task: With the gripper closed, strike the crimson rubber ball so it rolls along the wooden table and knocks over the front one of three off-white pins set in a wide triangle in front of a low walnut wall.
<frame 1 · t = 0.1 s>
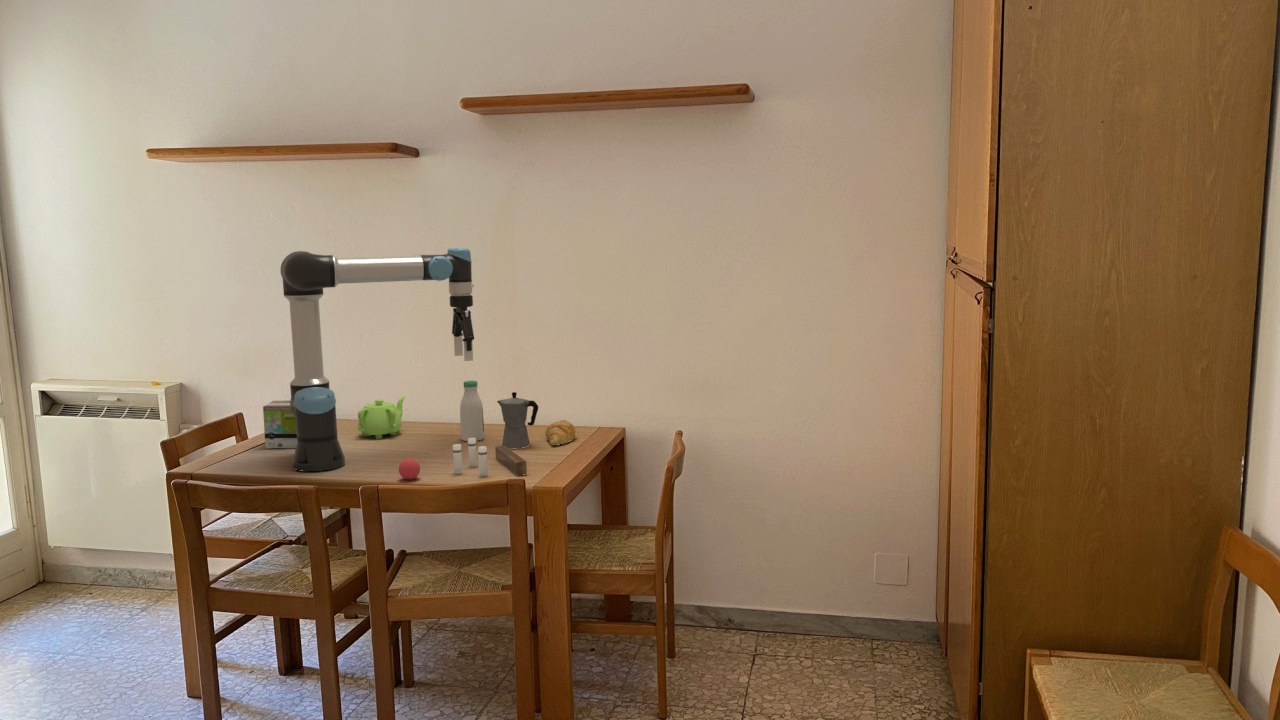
hand: (463, 358, 312), 28 cm above the table, tool pointing down, fingers open, 13 cm apart
milk bottle: (472, 440, 317), on the table
tea box: (293, 446, 312), on the table
ball: (409, 469, 267), on the table
coffeepot: (518, 446, 306), on the table
pin 1: (472, 466, 281), on the table
front pin: (458, 473, 273), on the table
croissant: (560, 441, 314), on the table
teapot: (383, 435, 326), on the table
pin 2: (483, 475, 270), on the table
back wall: (510, 466, 280), on the table
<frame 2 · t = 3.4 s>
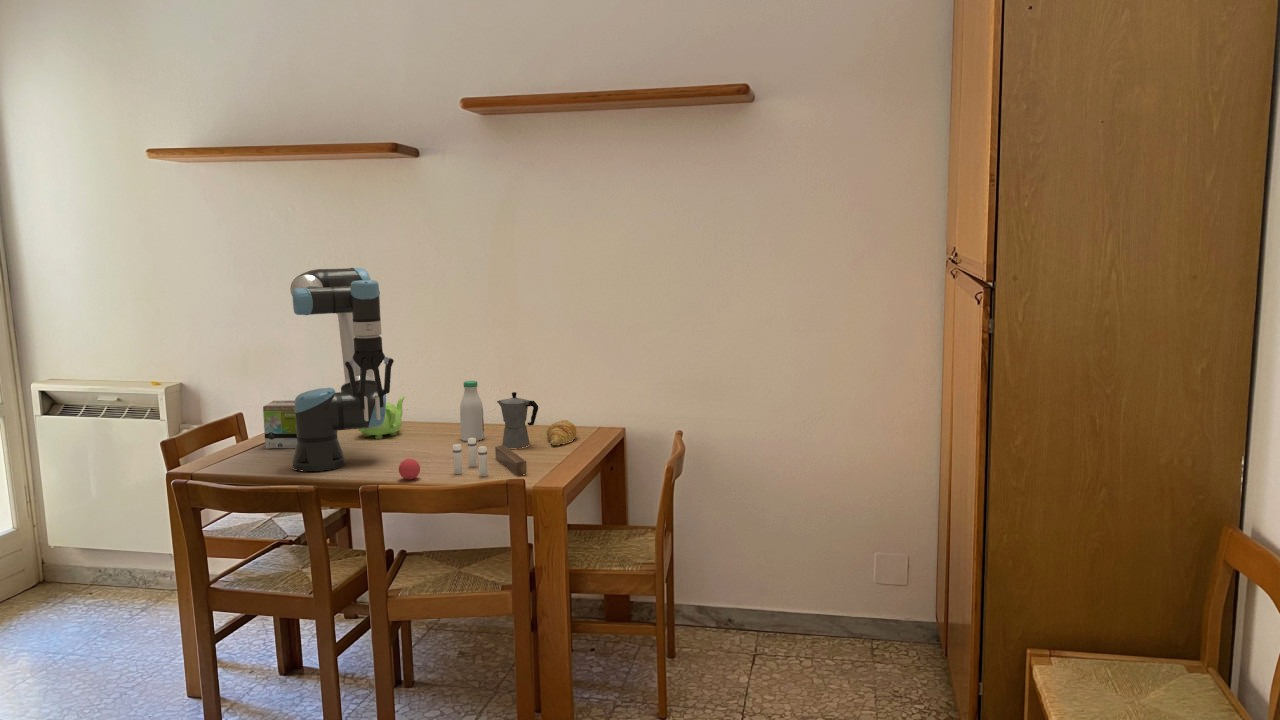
hand: (372, 419, 261), 19 cm above the table, tool pointing down, fingers open, 3 cm apart
nothing on the table moved.
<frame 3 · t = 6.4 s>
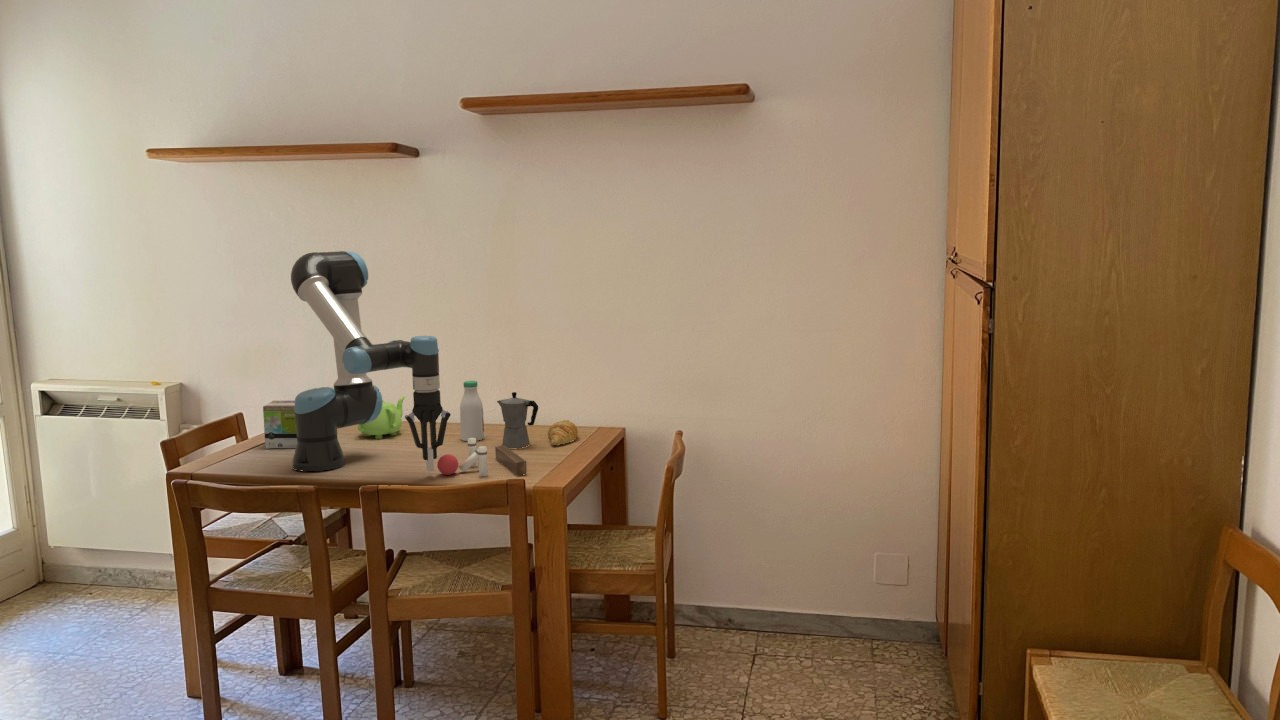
hand: (430, 470, 270), 2 cm above the table, tool pointing down, fingers closed
ball: (447, 464, 272), on the table
front pin: (461, 469, 274), point 1 cm above the table, tilted 53°
everything else where it was.
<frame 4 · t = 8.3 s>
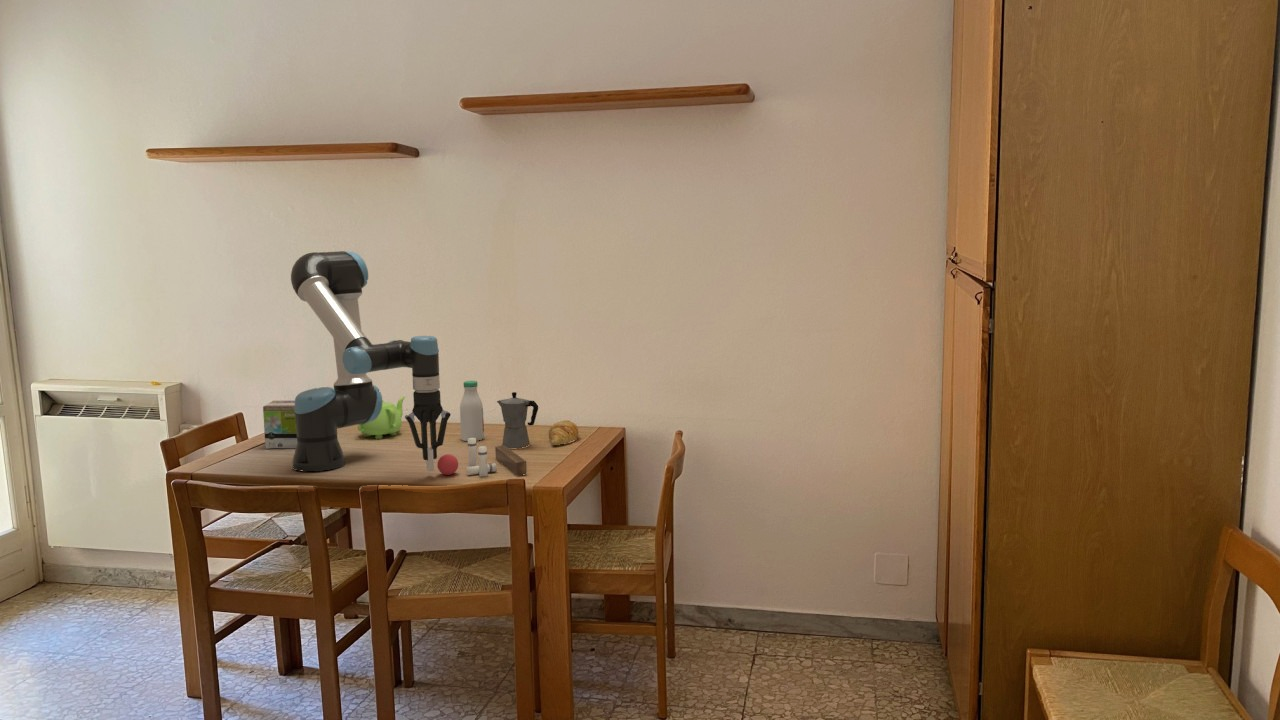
hand: (430, 470, 270), 2 cm above the table, tool pointing down, fingers closed
front pin: (467, 471, 271), point 1 cm above the table, tilted 89°
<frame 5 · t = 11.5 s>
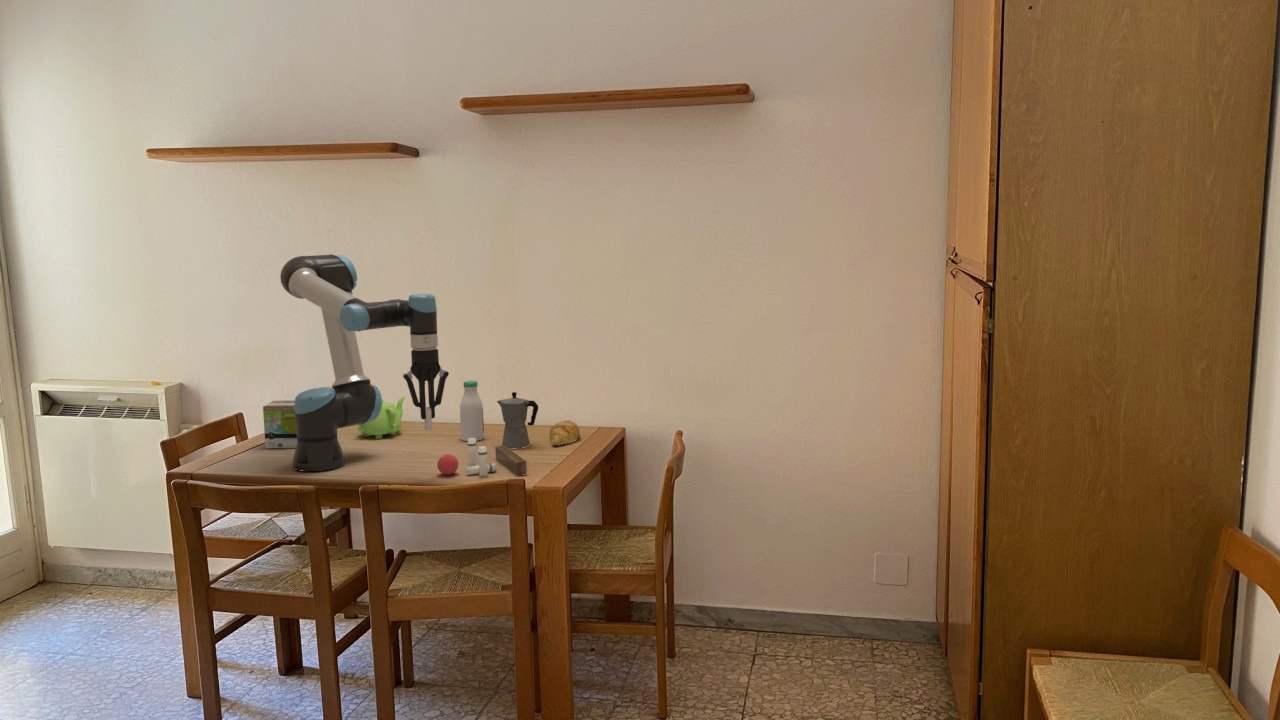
hand: (428, 429, 268), 14 cm above the table, tool pointing down, fingers closed
at the end: front pin tilted 89°; front pin never touched the robot; ball moved 11.1 cm from its start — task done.
